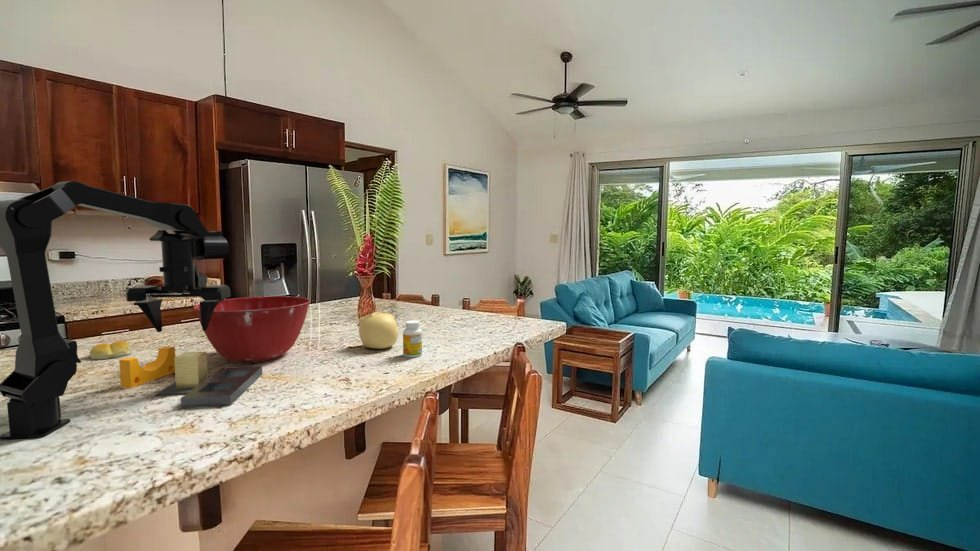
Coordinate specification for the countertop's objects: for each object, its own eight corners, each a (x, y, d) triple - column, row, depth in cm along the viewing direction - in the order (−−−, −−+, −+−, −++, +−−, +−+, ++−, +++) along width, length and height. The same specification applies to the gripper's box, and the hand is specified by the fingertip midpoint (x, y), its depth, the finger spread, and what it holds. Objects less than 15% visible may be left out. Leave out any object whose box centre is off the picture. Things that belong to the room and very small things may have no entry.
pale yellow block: (198, 387, 98) (197, 356, 97) (176, 388, 97) (174, 357, 96) (207, 381, 102) (206, 351, 101) (186, 382, 101) (184, 352, 101)
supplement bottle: (401, 353, 128) (400, 320, 128) (419, 351, 131) (419, 319, 130) (405, 358, 124) (405, 324, 123) (424, 356, 126) (424, 322, 125)
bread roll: (91, 355, 124) (90, 341, 124) (132, 350, 130) (131, 337, 129) (87, 362, 118) (86, 347, 117) (130, 357, 123) (129, 343, 122)
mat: (207, 393, 96) (207, 391, 96) (155, 395, 94) (155, 394, 94) (225, 378, 105) (225, 376, 105) (179, 380, 104) (179, 378, 103)
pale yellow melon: (392, 340, 144) (391, 307, 143) (403, 349, 134) (402, 314, 133) (356, 344, 139) (355, 310, 138) (364, 353, 128) (364, 317, 127)
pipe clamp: (160, 371, 111) (159, 346, 110) (176, 372, 110) (174, 346, 110) (114, 387, 99) (112, 359, 98) (131, 389, 98) (129, 360, 98)
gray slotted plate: (230, 405, 89) (230, 395, 89) (181, 408, 87) (180, 398, 87) (262, 374, 109) (262, 366, 109) (222, 376, 107) (222, 368, 107)
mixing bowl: (203, 349, 131) (200, 298, 129) (307, 340, 144) (305, 292, 142) (189, 377, 106) (186, 313, 104) (317, 362, 119) (315, 306, 117)
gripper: (238, 259, 107) (241, 323, 109) (152, 259, 104) (156, 324, 106) (218, 262, 96) (221, 333, 98) (121, 262, 93) (126, 335, 95)
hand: (182, 331), depth 99 cm, fingers open, 9 cm apart
